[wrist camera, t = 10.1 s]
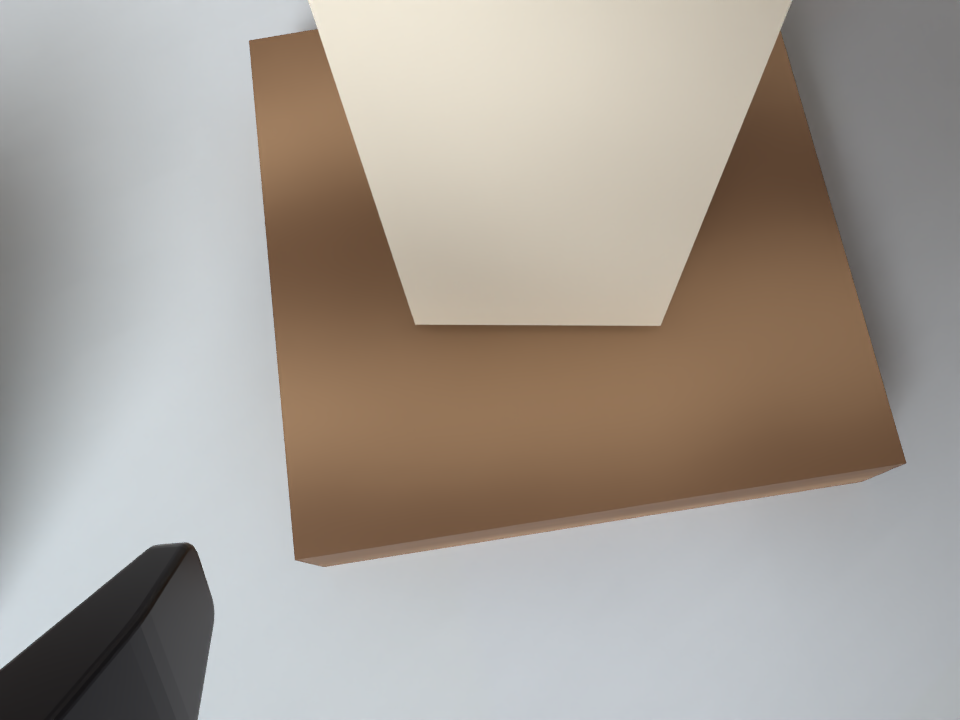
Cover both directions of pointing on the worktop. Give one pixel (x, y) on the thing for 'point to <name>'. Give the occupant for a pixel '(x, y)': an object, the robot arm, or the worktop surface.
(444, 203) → the tea tin
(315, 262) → the walnut block
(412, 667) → the worktop surface
